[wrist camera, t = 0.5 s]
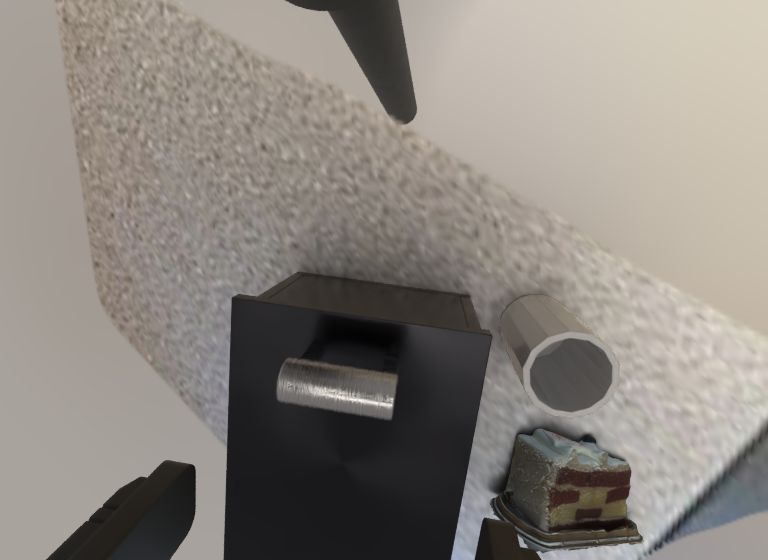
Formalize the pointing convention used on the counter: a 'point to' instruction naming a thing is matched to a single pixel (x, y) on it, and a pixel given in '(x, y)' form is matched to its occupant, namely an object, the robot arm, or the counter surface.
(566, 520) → the checkered cake slice
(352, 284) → the black hollow box
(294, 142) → the counter surface
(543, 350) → the cup
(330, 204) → the counter surface
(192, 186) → the counter surface
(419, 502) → the black box lid
